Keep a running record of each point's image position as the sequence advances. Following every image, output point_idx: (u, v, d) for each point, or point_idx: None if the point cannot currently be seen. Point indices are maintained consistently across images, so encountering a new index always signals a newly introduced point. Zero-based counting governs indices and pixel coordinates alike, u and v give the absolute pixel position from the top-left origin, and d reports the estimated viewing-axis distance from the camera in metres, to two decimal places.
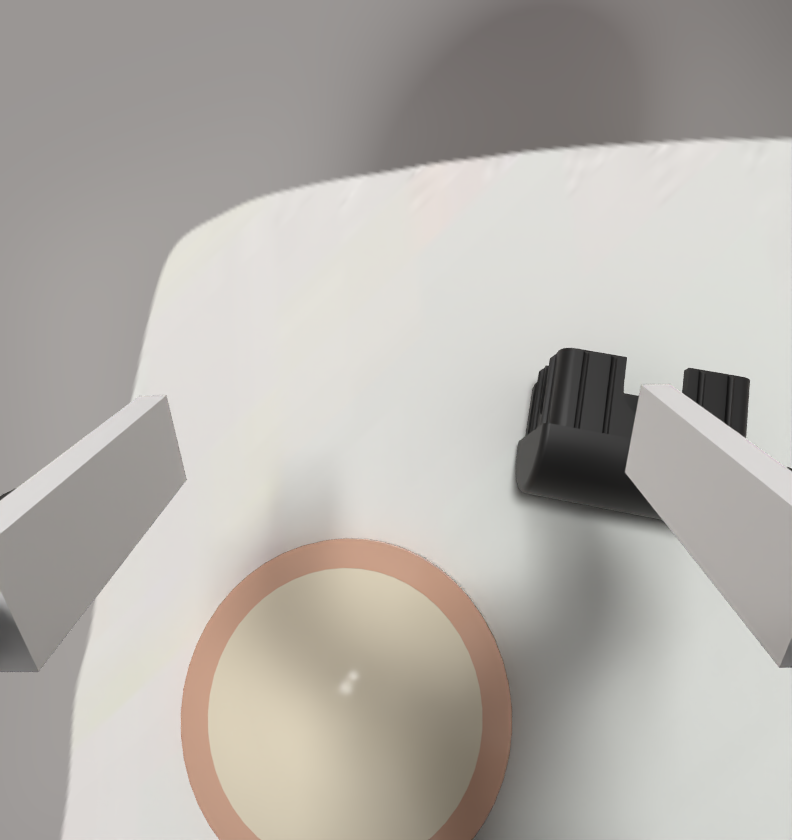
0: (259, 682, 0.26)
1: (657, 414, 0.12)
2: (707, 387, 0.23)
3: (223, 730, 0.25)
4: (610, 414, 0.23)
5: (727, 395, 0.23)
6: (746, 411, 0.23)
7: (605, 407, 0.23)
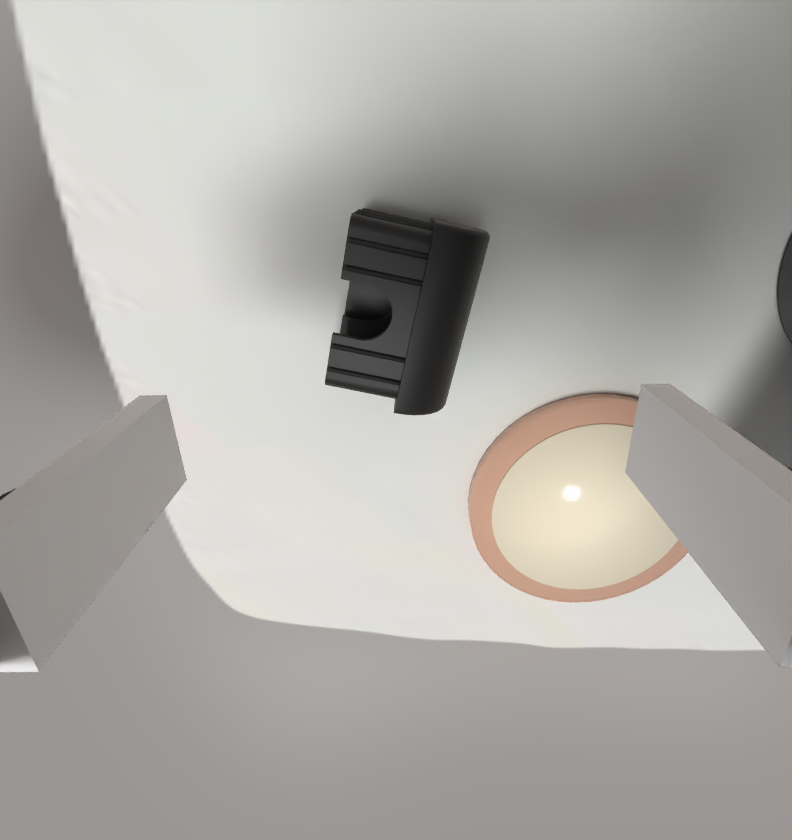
0: (563, 562, 0.37)
1: (657, 414, 0.12)
2: (360, 264, 0.24)
3: (590, 581, 0.38)
4: (385, 355, 0.26)
5: (367, 245, 0.24)
6: (382, 226, 0.24)
7: (379, 357, 0.26)
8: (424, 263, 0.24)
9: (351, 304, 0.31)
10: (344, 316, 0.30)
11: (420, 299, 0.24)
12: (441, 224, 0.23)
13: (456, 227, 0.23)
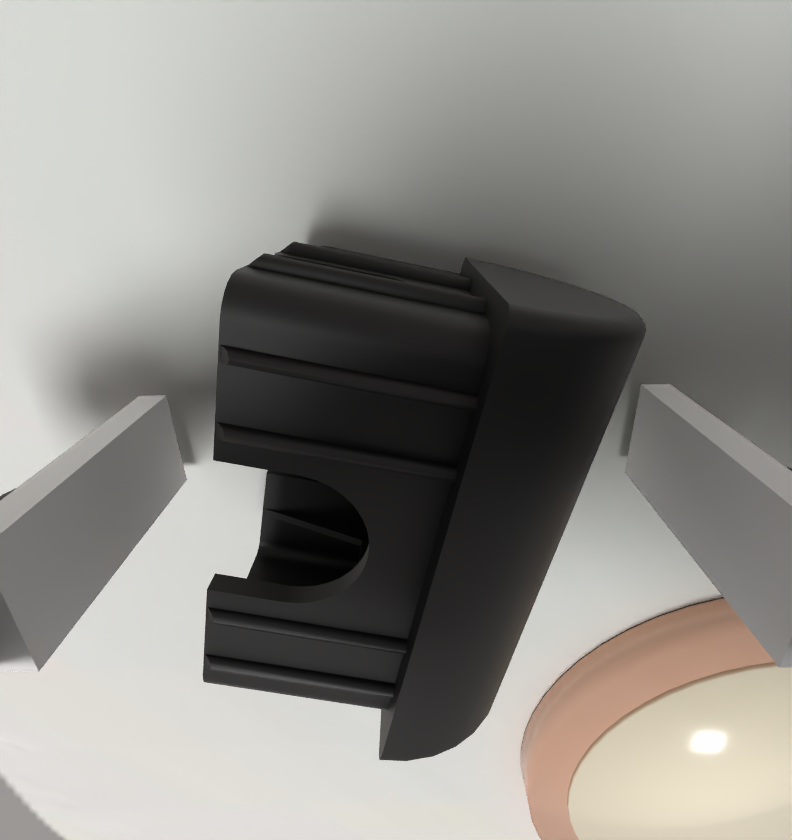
0: None
1: (657, 414, 0.12)
2: (265, 425, 0.08)
3: None
4: (354, 636, 0.10)
5: (285, 371, 0.08)
6: (330, 314, 0.07)
7: (338, 638, 0.10)
8: (463, 419, 0.08)
9: None
10: (271, 473, 0.14)
11: (451, 527, 0.08)
12: (527, 312, 0.07)
13: (575, 319, 0.07)
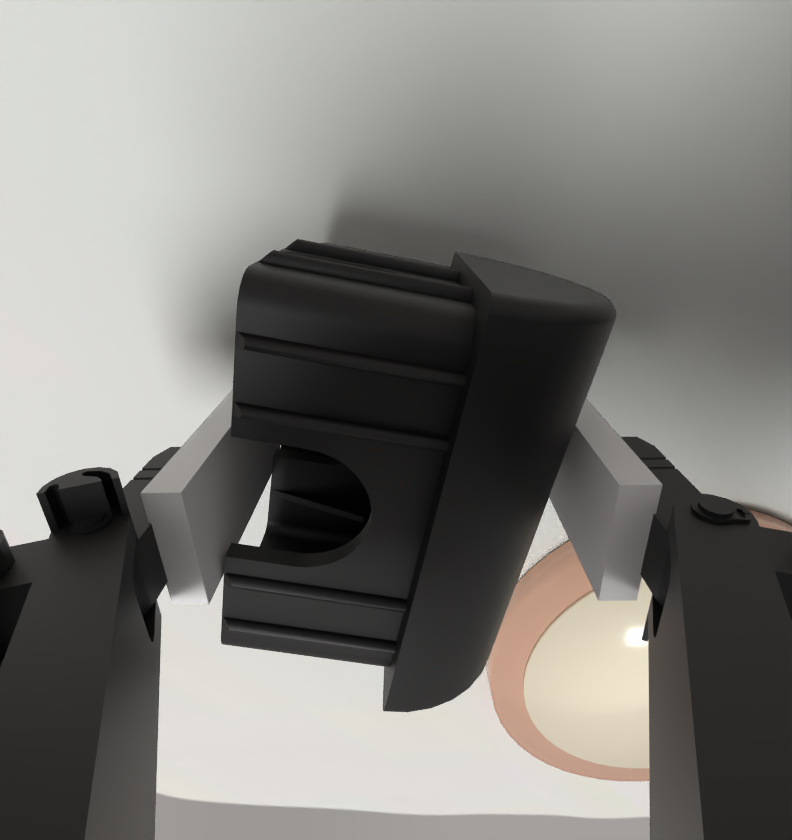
0: (627, 737, 0.25)
1: None
2: (278, 404, 0.09)
3: None
4: (359, 596, 0.11)
5: (295, 354, 0.09)
6: (334, 303, 0.08)
7: (344, 599, 0.11)
8: (453, 396, 0.09)
9: None
10: (277, 455, 0.15)
11: (444, 492, 0.09)
12: (507, 299, 0.08)
13: (550, 304, 0.08)
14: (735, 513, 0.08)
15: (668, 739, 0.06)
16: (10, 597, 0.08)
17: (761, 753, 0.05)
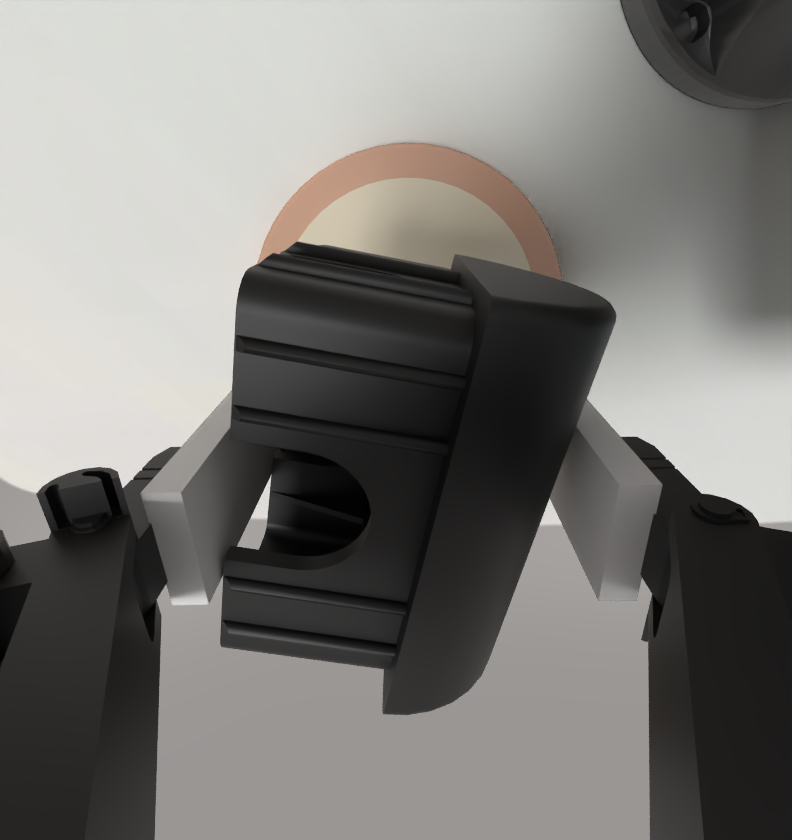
0: None
1: None
2: (277, 407, 0.09)
3: None
4: (358, 600, 0.11)
5: (295, 357, 0.09)
6: (334, 306, 0.08)
7: (344, 603, 0.11)
8: (453, 399, 0.09)
9: None
10: (277, 457, 0.15)
11: (444, 496, 0.09)
12: (507, 302, 0.08)
13: (550, 308, 0.08)
14: (735, 513, 0.08)
15: (668, 739, 0.06)
16: (10, 597, 0.08)
17: (761, 753, 0.05)
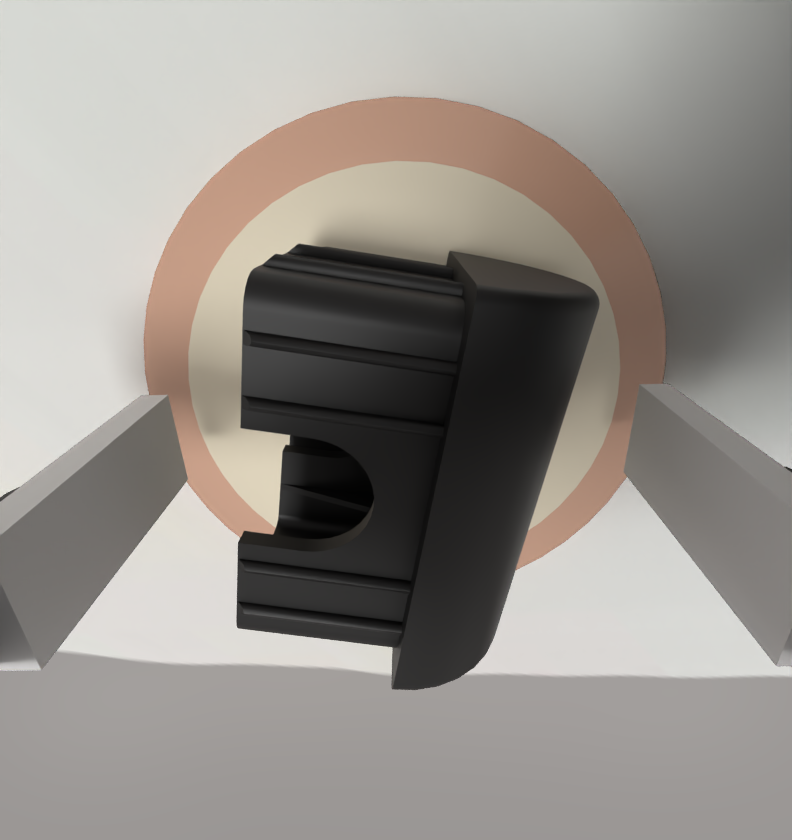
0: None
1: (655, 414, 0.12)
2: (283, 396, 0.10)
3: None
4: (365, 579, 0.11)
5: (298, 349, 0.09)
6: (333, 300, 0.09)
7: (352, 582, 0.12)
8: (447, 384, 0.10)
9: None
10: (286, 451, 0.15)
11: (441, 475, 0.10)
12: (492, 290, 0.08)
13: (532, 294, 0.09)
14: None
15: None
16: None
17: None
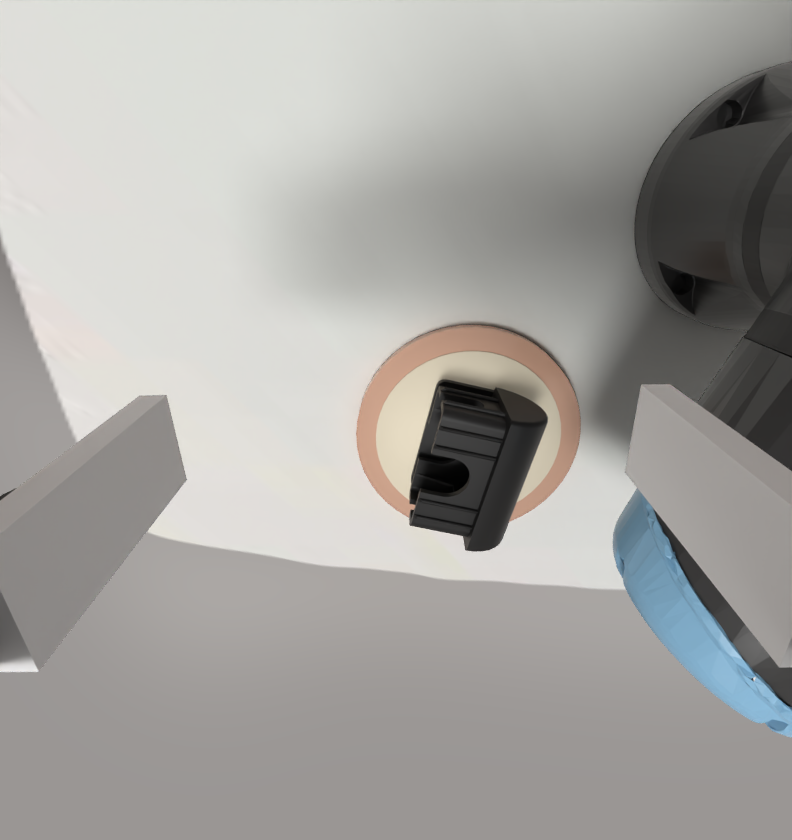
0: None
1: (657, 414, 0.12)
2: (447, 445, 0.31)
3: None
4: (462, 507, 0.33)
5: (455, 432, 0.31)
6: (467, 419, 0.30)
7: (456, 509, 0.33)
8: (498, 445, 0.31)
9: (424, 446, 0.37)
10: (420, 459, 0.36)
11: (494, 473, 0.31)
12: (515, 422, 0.30)
13: (526, 423, 0.30)
14: None
15: None
16: None
17: None
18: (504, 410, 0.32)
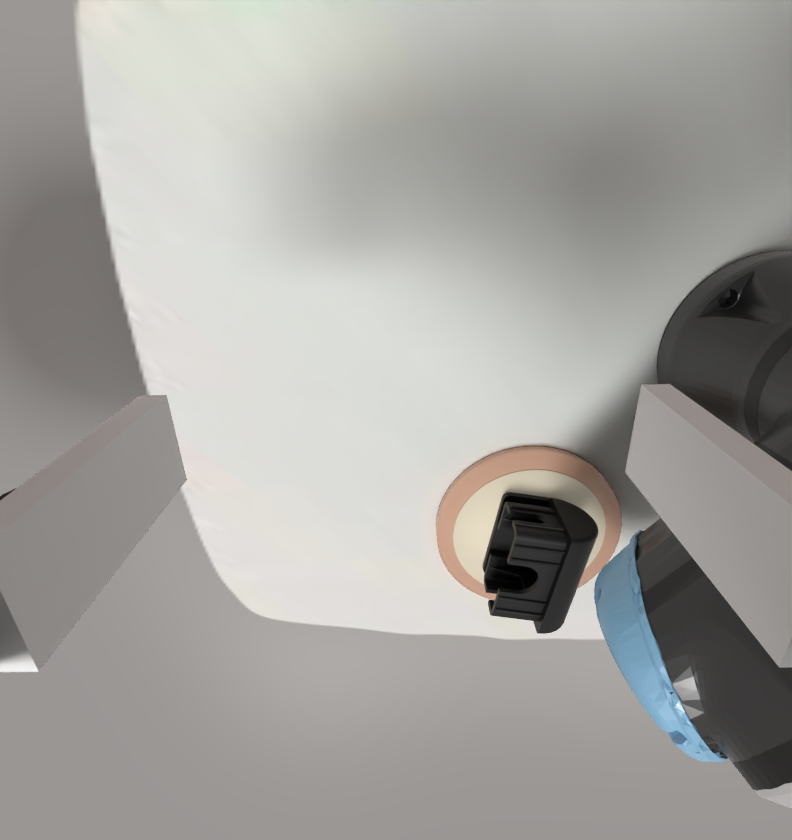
0: None
1: (657, 414, 0.12)
2: (521, 557, 0.39)
3: None
4: (533, 601, 0.41)
5: (526, 547, 0.39)
6: (536, 537, 0.39)
7: (528, 602, 0.41)
8: (561, 555, 0.39)
9: (494, 544, 0.46)
10: (492, 556, 0.45)
11: (559, 576, 0.39)
12: (574, 540, 0.38)
13: (583, 539, 0.38)
14: None
15: None
16: None
17: None
18: (563, 525, 0.40)
